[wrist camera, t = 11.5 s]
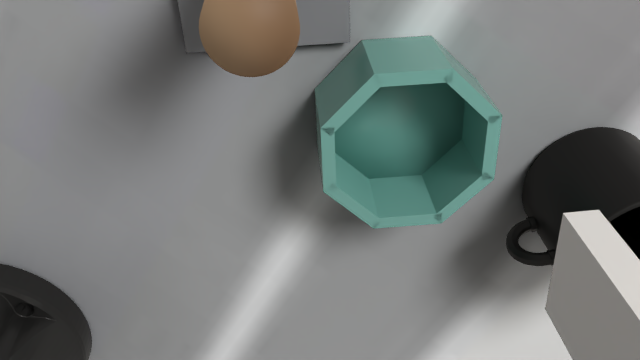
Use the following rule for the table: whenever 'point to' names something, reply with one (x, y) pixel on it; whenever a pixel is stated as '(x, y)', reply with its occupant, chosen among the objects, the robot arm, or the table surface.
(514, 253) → the mug
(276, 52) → the dowel
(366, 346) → the table surface
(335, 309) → the table surface
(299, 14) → the coaster
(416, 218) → the teal octagonal bowl
